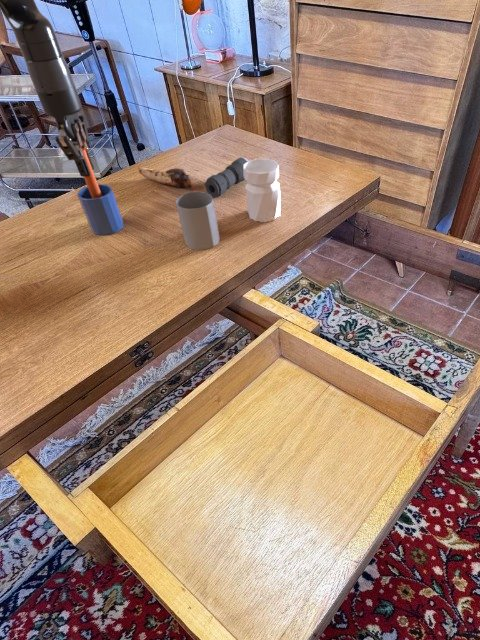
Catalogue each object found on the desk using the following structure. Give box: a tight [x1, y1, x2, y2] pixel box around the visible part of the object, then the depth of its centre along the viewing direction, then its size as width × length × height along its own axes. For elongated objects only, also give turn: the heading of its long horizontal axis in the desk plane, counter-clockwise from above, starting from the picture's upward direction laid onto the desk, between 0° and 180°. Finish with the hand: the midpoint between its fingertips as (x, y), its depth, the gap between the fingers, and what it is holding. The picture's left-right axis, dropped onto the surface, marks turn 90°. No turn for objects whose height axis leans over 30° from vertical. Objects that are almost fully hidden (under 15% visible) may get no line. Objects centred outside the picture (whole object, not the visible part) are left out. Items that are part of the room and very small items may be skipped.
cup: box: [175, 190, 221, 251], centre depth 104 cm, size 8×8×10 cm
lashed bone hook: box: [138, 166, 193, 188], centre depth 127 cm, size 9×5×18 cm
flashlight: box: [204, 156, 249, 198], centre depth 123 cm, size 15×5×5 cm, turn 148°
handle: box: [76, 148, 102, 199], centre depth 103 cm, size 3×3×12 cm
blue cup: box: [76, 183, 125, 236], centre depth 109 cm, size 8×8×9 cm
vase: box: [243, 158, 282, 223], centre depth 111 cm, size 9×9×12 cm
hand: (87, 172), depth 102 cm, fingers closed on handle, 2 cm apart
